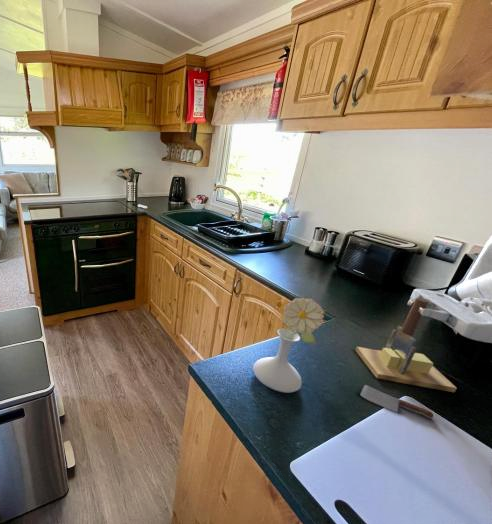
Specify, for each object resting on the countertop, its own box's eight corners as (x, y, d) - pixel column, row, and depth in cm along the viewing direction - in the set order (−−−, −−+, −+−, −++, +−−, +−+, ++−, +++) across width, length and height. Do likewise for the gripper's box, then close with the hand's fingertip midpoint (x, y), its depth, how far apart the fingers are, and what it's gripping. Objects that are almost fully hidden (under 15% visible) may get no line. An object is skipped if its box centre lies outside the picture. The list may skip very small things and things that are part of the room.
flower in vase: (243, 366, 77) (263, 282, 69) (279, 362, 80) (303, 281, 71) (274, 406, 66) (303, 310, 57) (315, 399, 68) (350, 307, 59)
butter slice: (386, 358, 83) (391, 348, 81) (395, 368, 79) (400, 357, 78) (378, 357, 83) (383, 347, 82) (386, 366, 79) (391, 356, 78)
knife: (397, 344, 82) (419, 295, 76) (411, 358, 76) (437, 306, 70) (386, 342, 82) (408, 293, 77) (400, 357, 76) (425, 304, 71)
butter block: (418, 364, 81) (423, 354, 80) (428, 374, 78) (433, 363, 76) (389, 359, 82) (394, 349, 81) (398, 368, 79) (403, 358, 78)
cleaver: (360, 394, 70) (364, 380, 73) (358, 398, 71) (362, 384, 74) (434, 428, 62) (434, 411, 65) (431, 432, 63) (431, 415, 66)
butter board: (422, 362, 85) (437, 333, 81) (454, 392, 74) (473, 361, 70) (355, 350, 88) (366, 322, 84) (376, 378, 77) (390, 347, 73)
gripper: (450, 287, 81) (395, 280, 83) (525, 326, 62) (451, 316, 64) (441, 307, 83) (387, 299, 85) (510, 351, 64) (438, 339, 66)
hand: (415, 306), depth 74 cm, fingers open, 3 cm apart
